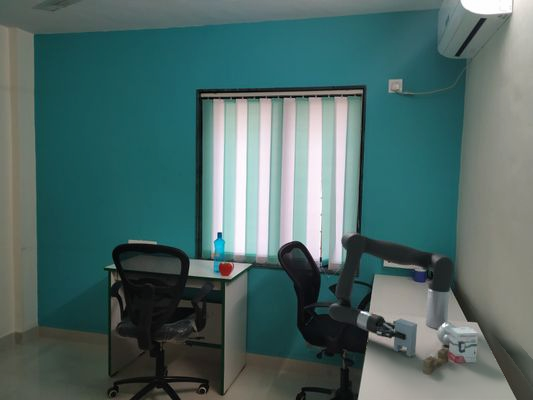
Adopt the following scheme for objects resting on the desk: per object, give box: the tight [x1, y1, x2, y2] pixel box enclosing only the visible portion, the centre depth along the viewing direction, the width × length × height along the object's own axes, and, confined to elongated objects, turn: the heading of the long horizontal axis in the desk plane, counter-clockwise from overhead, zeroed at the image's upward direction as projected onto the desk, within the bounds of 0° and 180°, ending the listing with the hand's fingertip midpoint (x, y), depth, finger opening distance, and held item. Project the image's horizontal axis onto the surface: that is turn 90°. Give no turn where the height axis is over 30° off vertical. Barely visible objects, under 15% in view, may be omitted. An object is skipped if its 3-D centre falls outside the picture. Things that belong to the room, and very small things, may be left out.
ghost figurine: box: [436, 321, 457, 347], centre depth 169 cm, size 9×10×10 cm
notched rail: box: [422, 347, 450, 375], centre depth 152 cm, size 16×2×4 cm, turn 132°
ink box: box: [448, 326, 479, 363], centre depth 157 cm, size 8×5×12 cm, turn 98°
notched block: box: [393, 318, 418, 357], centre depth 161 cm, size 4×7×12 cm, turn 42°
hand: (408, 335), depth 160 cm, fingers closed on notched block, 4 cm apart
